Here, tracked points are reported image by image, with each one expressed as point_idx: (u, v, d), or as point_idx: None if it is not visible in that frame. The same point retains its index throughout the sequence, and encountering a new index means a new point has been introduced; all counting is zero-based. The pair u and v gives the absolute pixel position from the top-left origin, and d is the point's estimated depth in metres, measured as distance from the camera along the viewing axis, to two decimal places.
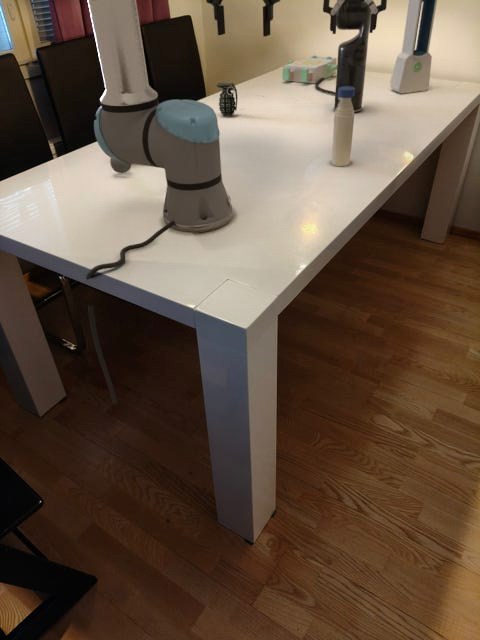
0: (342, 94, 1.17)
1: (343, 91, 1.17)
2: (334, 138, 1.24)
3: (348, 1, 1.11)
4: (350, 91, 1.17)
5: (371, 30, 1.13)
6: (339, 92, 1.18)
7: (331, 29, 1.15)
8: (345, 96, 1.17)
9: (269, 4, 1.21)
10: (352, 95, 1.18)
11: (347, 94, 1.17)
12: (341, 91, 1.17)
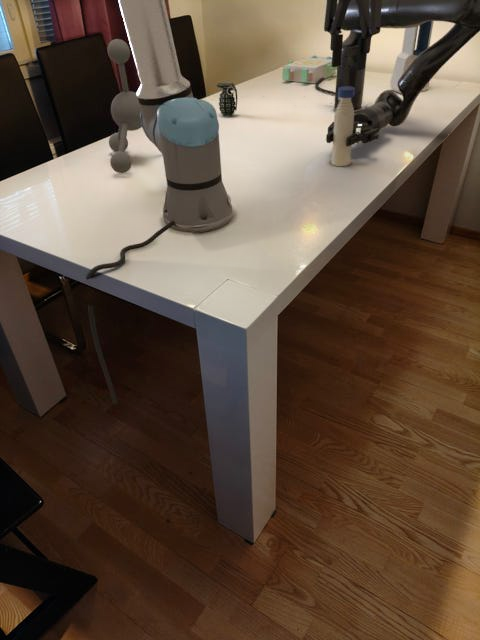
0: (342, 94, 1.17)
1: (343, 91, 1.17)
2: (334, 138, 1.24)
3: None
4: (350, 91, 1.17)
5: None
6: (339, 92, 1.18)
7: None
8: (345, 96, 1.17)
9: None
10: (352, 95, 1.18)
11: (347, 94, 1.17)
12: (341, 91, 1.17)
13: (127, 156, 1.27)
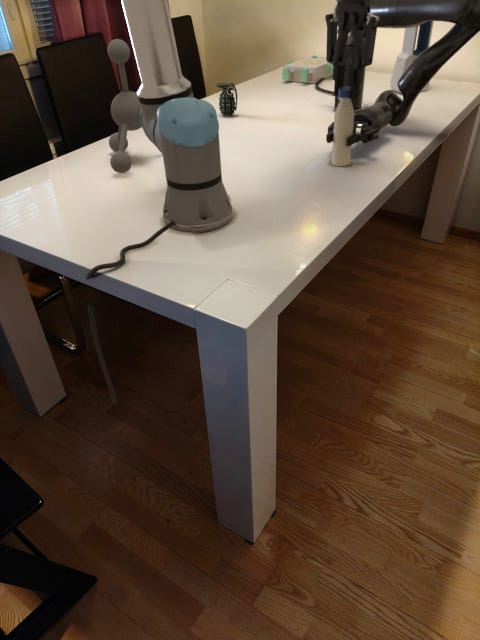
0: (342, 94, 1.17)
1: (343, 91, 1.17)
2: (334, 138, 1.24)
3: None
4: None
5: None
6: (339, 92, 1.18)
7: None
8: (345, 96, 1.17)
9: None
10: None
11: (347, 94, 1.17)
12: (341, 91, 1.17)
13: (127, 156, 1.27)
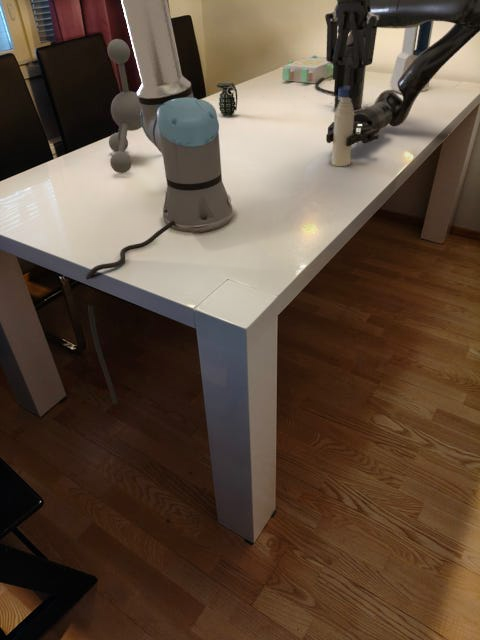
0: None
1: None
2: (334, 138, 1.24)
3: None
4: None
5: None
6: None
7: None
8: None
9: None
10: None
11: None
12: None
13: (127, 156, 1.27)
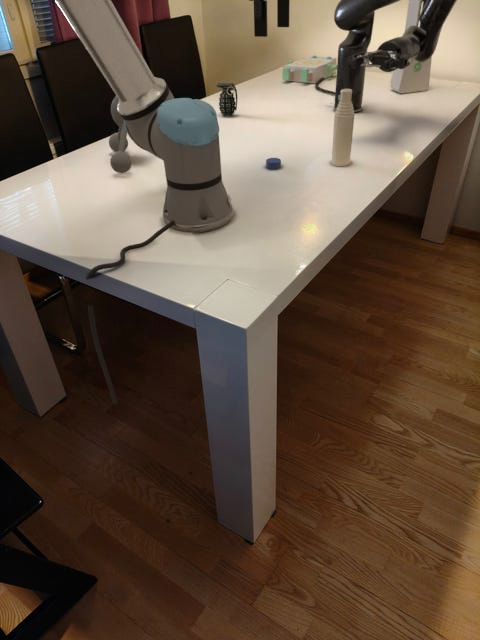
0: (278, 165, 1.28)
1: (279, 162, 1.27)
2: (334, 138, 1.24)
3: None
4: None
5: (354, 68, 1.26)
6: (275, 165, 1.27)
7: None
8: (280, 166, 1.28)
9: None
10: None
11: (280, 163, 1.28)
12: (278, 163, 1.27)
13: (127, 156, 1.27)
